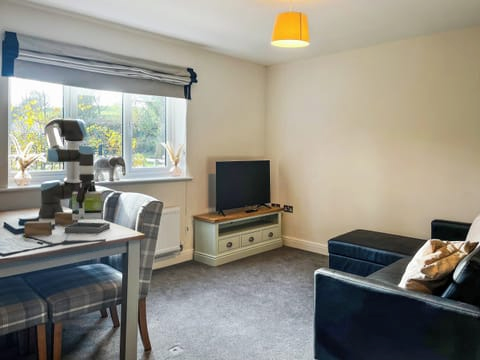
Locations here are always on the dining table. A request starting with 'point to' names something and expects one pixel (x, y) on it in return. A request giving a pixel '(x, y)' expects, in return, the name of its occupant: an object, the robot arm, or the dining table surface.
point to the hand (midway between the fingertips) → (87, 212)
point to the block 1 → (38, 228)
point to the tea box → (87, 206)
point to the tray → (87, 227)
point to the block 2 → (64, 218)
